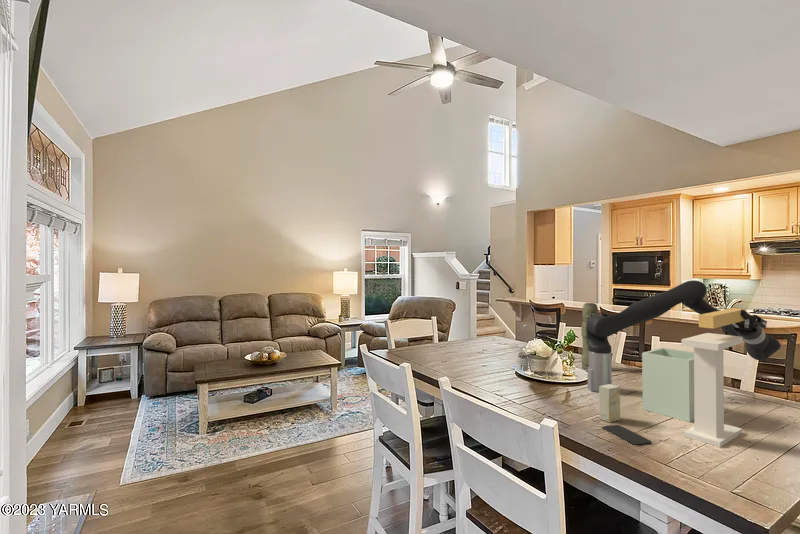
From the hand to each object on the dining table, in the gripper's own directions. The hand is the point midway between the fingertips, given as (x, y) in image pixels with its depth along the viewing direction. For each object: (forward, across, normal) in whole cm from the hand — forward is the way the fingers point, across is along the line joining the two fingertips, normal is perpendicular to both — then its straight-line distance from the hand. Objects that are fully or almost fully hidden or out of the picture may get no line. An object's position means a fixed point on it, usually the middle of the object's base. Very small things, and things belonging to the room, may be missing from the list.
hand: (733, 311), depth 146 cm
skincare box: (+9, -27, +51) cm, 58 cm away
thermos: (-43, -72, +21) cm, 86 cm away
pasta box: (+6, 0, +8) cm, 10 cm away
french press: (-14, -87, +38) cm, 96 cm away
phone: (+17, -16, +56) cm, 60 cm away
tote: (-15, -17, +37) cm, 43 cm away
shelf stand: (-3, 0, +43) cm, 43 cm away
